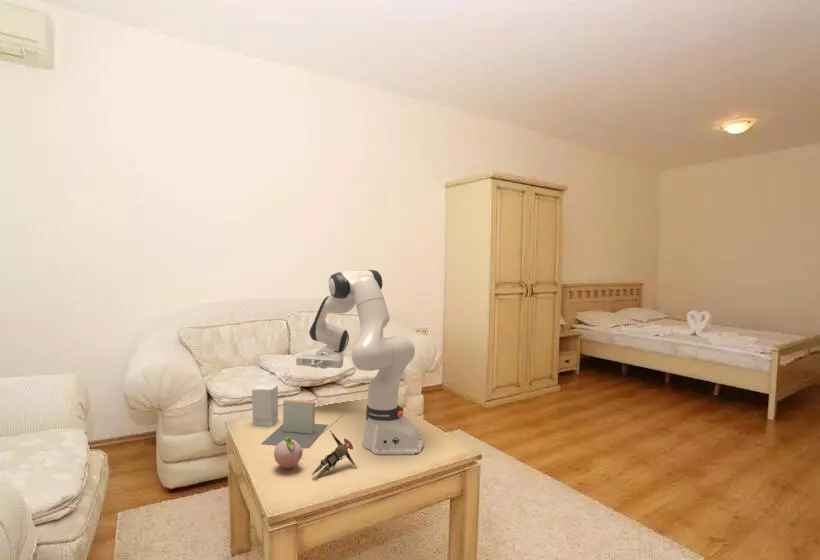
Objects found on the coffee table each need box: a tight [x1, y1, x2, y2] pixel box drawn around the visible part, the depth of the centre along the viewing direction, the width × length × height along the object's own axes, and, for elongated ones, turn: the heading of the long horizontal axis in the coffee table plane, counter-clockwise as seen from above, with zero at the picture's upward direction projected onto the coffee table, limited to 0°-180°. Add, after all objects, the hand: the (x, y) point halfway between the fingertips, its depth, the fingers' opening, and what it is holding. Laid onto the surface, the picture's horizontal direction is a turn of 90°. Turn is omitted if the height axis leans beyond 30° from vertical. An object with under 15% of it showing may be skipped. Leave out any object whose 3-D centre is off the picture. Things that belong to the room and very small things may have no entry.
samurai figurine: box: [298, 412, 358, 481], centre depth 136 cm, size 16×10×20 cm
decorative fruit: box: [273, 437, 304, 469], centre depth 134 cm, size 9×8×10 cm
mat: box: [260, 423, 329, 449], centre depth 160 cm, size 18×22×1 cm
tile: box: [282, 398, 316, 434], centre depth 161 cm, size 12×2×12 cm, turn 83°
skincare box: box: [251, 384, 279, 428], centre depth 168 cm, size 8×7×16 cm
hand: (314, 365), depth 177 cm, fingers closed
